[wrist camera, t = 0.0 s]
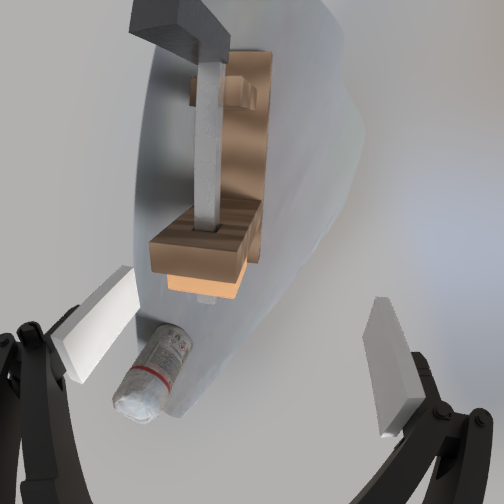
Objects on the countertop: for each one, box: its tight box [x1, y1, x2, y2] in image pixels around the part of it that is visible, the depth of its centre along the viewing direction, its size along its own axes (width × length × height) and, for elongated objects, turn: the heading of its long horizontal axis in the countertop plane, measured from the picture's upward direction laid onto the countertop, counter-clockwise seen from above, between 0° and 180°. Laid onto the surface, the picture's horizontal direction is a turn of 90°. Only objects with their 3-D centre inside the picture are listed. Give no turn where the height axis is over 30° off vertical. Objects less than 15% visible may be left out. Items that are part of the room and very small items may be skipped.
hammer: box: [129, 0, 231, 305], centre depth 22 cm, size 28×3×13 cm, turn 177°
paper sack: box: [112, 324, 192, 424], centre depth 46 cm, size 8×8×20 cm
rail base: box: [149, 51, 272, 284], centre depth 31 cm, size 30×8×19 cm, turn 177°
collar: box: [167, 257, 247, 299], centre depth 32 cm, size 2×7×7 cm, turn 87°
